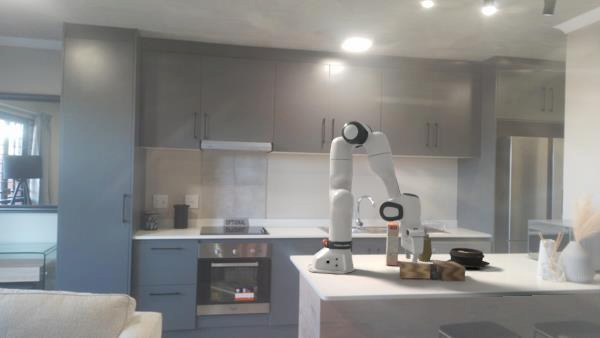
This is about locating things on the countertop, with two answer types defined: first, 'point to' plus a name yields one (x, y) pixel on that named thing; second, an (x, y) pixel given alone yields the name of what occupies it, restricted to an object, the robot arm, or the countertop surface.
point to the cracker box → (392, 243)
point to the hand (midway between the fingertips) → (411, 260)
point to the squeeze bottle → (426, 248)
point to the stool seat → (448, 271)
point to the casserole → (468, 257)
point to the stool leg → (416, 270)
